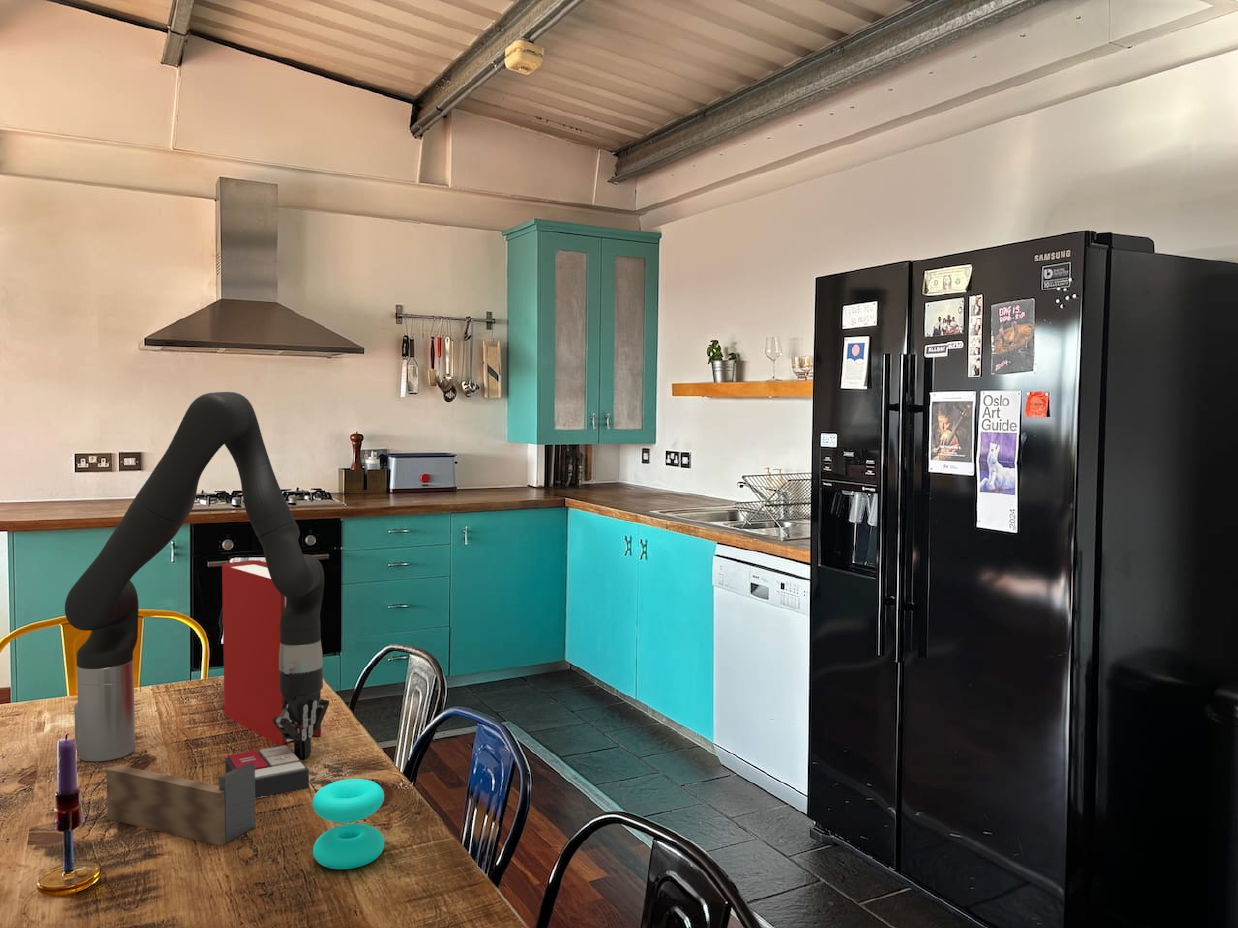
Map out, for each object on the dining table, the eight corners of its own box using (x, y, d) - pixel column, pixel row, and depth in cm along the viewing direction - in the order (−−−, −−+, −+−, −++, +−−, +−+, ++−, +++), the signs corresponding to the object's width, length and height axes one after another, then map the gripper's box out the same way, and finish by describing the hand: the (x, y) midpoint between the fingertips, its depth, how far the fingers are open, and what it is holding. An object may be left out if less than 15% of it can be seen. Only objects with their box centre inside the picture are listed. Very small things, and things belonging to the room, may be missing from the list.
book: (321, 736, 186) (319, 576, 184) (282, 747, 180) (280, 581, 178) (258, 705, 205) (256, 559, 203) (221, 713, 199) (219, 563, 197)
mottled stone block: (107, 818, 148) (105, 768, 148) (144, 801, 155) (143, 753, 154) (220, 845, 139) (219, 793, 139) (255, 826, 146) (254, 776, 145)
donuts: (347, 809, 129) (297, 793, 134) (348, 879, 130) (298, 861, 135) (398, 784, 138) (349, 770, 143) (399, 850, 139) (350, 834, 144)
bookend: (220, 841, 141) (218, 776, 140) (249, 825, 146) (248, 762, 146) (226, 843, 140) (225, 777, 140) (255, 826, 146) (254, 763, 145)
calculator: (288, 742, 173) (309, 764, 161) (288, 765, 174) (309, 789, 161) (224, 753, 168) (241, 777, 155) (225, 777, 168) (241, 803, 155)
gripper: (308, 654, 179) (310, 743, 180) (258, 672, 167) (260, 768, 168) (341, 658, 176) (342, 749, 177) (292, 677, 164) (294, 774, 165)
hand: (302, 758), depth 172 cm, fingers closed
